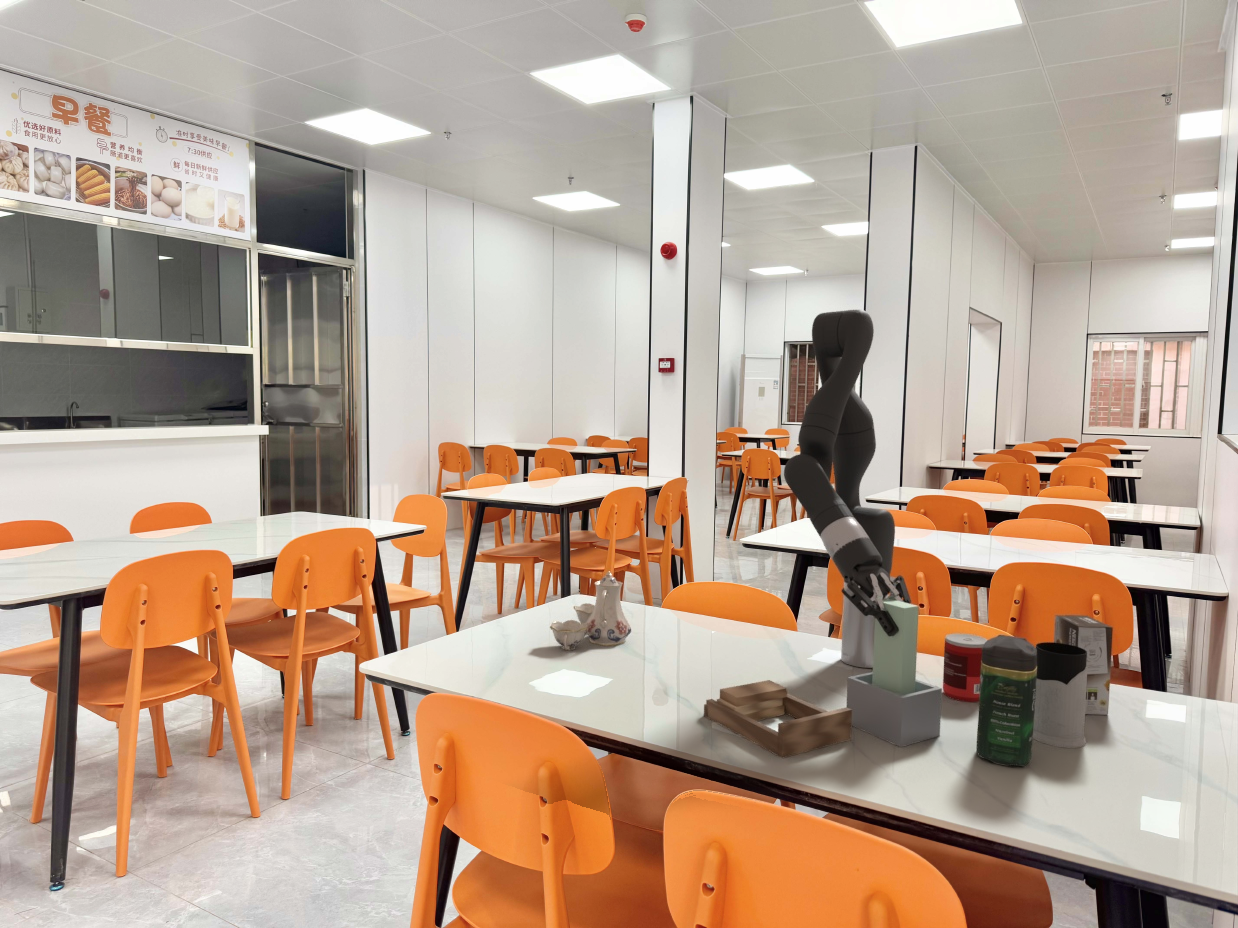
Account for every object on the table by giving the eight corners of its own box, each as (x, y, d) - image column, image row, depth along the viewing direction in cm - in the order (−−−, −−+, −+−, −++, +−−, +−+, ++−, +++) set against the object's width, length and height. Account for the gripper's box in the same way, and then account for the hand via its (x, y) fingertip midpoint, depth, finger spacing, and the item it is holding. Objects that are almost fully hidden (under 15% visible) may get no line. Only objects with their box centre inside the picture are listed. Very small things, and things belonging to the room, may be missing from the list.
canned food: (986, 692, 159) (989, 636, 158) (985, 705, 151) (988, 646, 151) (943, 685, 162) (946, 630, 161) (941, 698, 155) (943, 640, 154)
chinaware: (575, 628, 206) (569, 563, 205) (640, 625, 203) (635, 559, 202) (547, 661, 178) (540, 586, 178) (622, 659, 176) (616, 582, 175)
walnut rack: (768, 701, 151) (769, 674, 151) (850, 739, 134) (851, 709, 134) (703, 715, 144) (704, 687, 143) (782, 757, 126) (783, 726, 126)
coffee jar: (1030, 772, 123) (1036, 650, 122) (973, 760, 127) (978, 642, 125) (1034, 750, 131) (1040, 635, 130) (980, 739, 135) (985, 628, 134)
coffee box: (1110, 715, 147) (1115, 627, 146) (1074, 714, 147) (1078, 626, 146) (1083, 697, 156) (1087, 614, 155) (1049, 696, 157) (1053, 613, 156)
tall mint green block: (884, 712, 142) (889, 598, 141) (913, 724, 137) (918, 605, 136) (870, 716, 140) (875, 600, 139) (899, 727, 135) (904, 608, 134)
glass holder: (1078, 752, 131) (1083, 659, 130) (986, 727, 140) (990, 641, 139) (1092, 736, 137) (1097, 648, 136) (1003, 714, 147) (1007, 631, 146)
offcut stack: (766, 704, 149) (767, 678, 149) (786, 714, 145) (787, 687, 144) (715, 716, 143) (715, 689, 143) (734, 726, 139) (735, 698, 138)
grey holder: (884, 713, 146) (886, 668, 146) (939, 735, 136) (941, 688, 136) (845, 722, 141) (847, 677, 141) (900, 746, 131) (902, 697, 131)
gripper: (833, 538, 140) (887, 625, 130) (890, 533, 147) (945, 615, 138) (810, 563, 145) (860, 649, 135) (866, 557, 152) (917, 638, 143)
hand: (902, 631), depth 137 cm, fingers closed on tall mint green block, 3 cm apart
